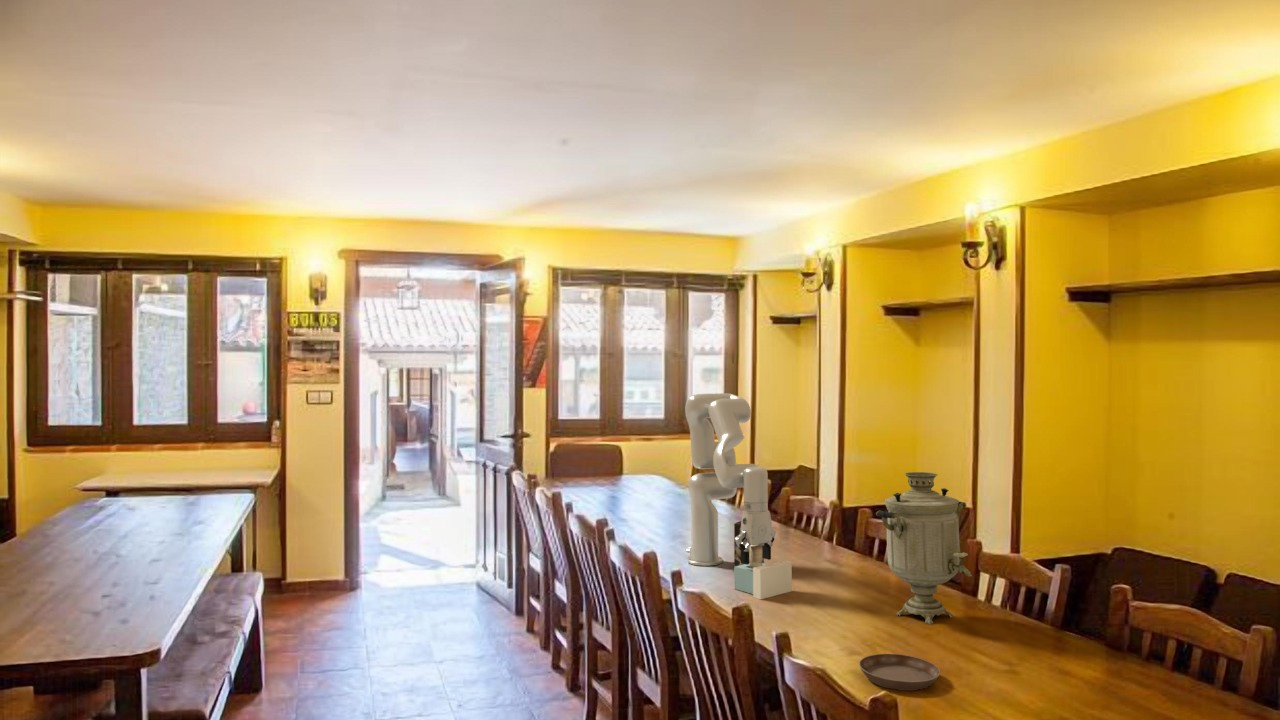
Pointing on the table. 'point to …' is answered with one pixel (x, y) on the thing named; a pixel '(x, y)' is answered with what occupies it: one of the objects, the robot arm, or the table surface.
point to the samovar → (923, 542)
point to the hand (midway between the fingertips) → (755, 561)
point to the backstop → (772, 579)
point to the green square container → (744, 578)
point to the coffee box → (736, 550)
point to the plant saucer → (899, 671)
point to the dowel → (755, 556)
